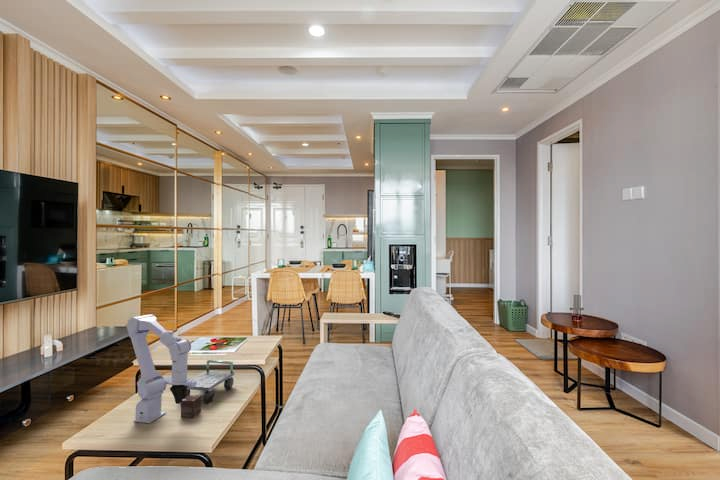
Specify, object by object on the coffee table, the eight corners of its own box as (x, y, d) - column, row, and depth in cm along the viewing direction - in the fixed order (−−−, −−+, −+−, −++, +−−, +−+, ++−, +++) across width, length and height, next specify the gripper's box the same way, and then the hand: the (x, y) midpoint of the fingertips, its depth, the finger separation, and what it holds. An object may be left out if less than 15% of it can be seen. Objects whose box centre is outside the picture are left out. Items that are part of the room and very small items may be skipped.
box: (201, 412, 153) (201, 395, 154) (193, 418, 147) (194, 401, 148) (188, 411, 154) (188, 394, 154) (180, 417, 148) (180, 400, 148)
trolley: (207, 405, 160) (208, 376, 160) (177, 402, 163) (178, 373, 163) (234, 386, 182) (234, 361, 183) (207, 384, 185) (208, 359, 186)
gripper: (201, 367, 146) (200, 400, 146) (171, 365, 149) (170, 397, 148) (190, 373, 139) (189, 407, 139) (159, 371, 142) (158, 404, 141)
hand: (178, 402), depth 143 cm, fingers closed
